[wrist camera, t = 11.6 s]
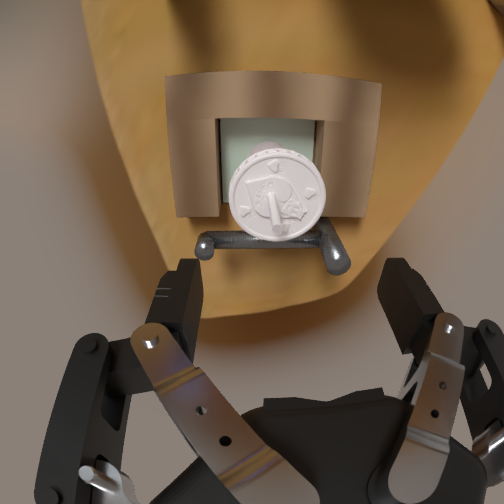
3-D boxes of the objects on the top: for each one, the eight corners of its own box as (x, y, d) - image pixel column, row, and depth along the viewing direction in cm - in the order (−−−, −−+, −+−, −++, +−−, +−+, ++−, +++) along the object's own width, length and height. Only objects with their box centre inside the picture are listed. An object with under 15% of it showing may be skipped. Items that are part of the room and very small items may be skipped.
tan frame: (368, 82, 22) (382, 83, 20) (355, 204, 29) (365, 217, 27) (173, 76, 22) (164, 76, 20) (182, 204, 29) (176, 217, 27)
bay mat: (314, 118, 24) (315, 118, 24) (308, 201, 29) (308, 202, 29) (220, 116, 24) (220, 116, 24) (223, 201, 29) (223, 202, 29)
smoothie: (256, 114, 24) (266, 148, 12) (315, 150, 26) (370, 216, 14) (221, 171, 27) (201, 253, 15) (278, 202, 29) (299, 298, 17)
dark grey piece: (326, 206, 30) (352, 254, 22) (324, 223, 31) (348, 275, 23) (204, 206, 29) (189, 256, 22) (205, 223, 30) (192, 277, 23)
